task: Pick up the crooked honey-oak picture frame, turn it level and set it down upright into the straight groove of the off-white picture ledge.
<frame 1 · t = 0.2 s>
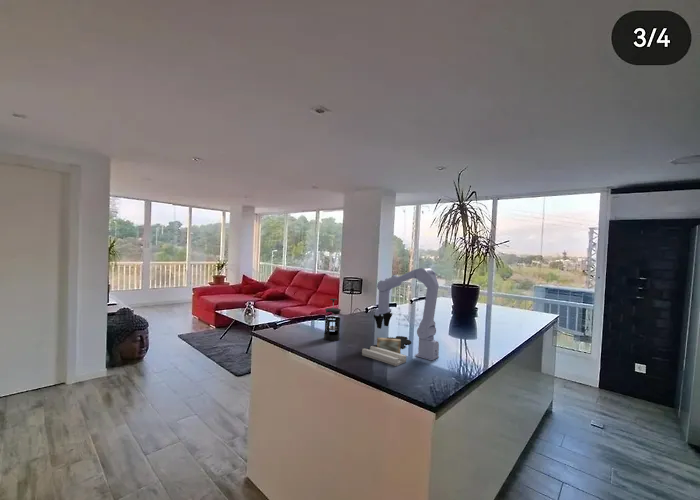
hand: (382, 327, 179), 10 cm above the countertop, tool pointing down, fingers open, 7 cm apart
figurine: (394, 344, 183), on the countertop
ledge: (383, 358, 156), on the countertop
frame: (388, 351, 168), on the countertop
french press: (332, 339, 187), on the countertop
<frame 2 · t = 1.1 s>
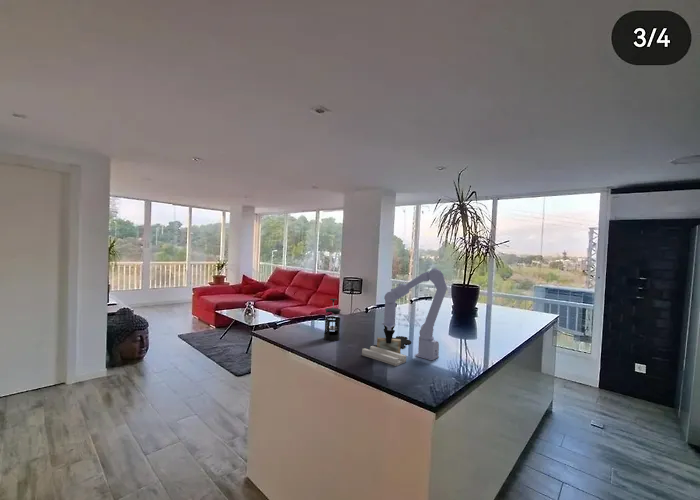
hand: (388, 341, 168), 5 cm above the countertop, tool pointing down, fingers open, 7 cm apart
nothing on the countertop moved.
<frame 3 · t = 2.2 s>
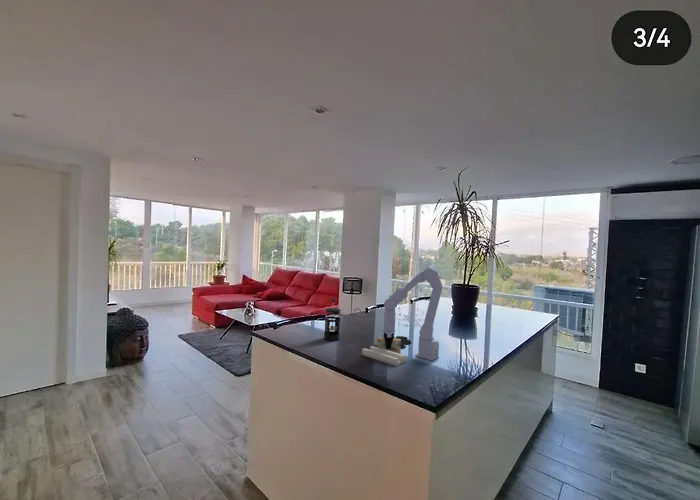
hand: (388, 347, 168), 2 cm above the countertop, tool pointing down, fingers closed on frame, 3 cm apart
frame: (388, 351, 168), on the countertop, touching gripper
everything else where it was.
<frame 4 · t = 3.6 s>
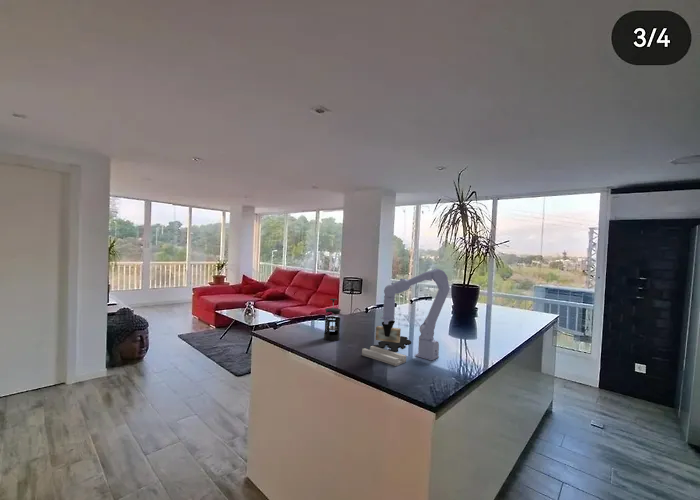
hand: (387, 335, 165), 9 cm above the countertop, tool pointing down, fingers closed on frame, 3 cm apart
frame: (387, 340, 165), point 6 cm above the countertop, touching gripper
everything else where it was.
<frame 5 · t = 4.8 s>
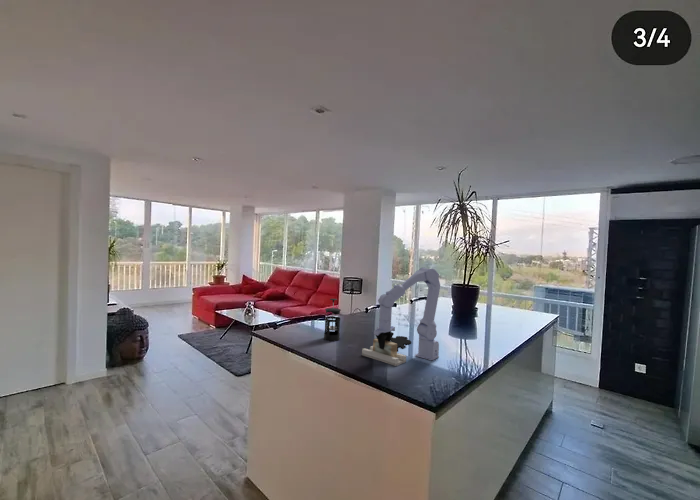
hand: (383, 347, 156), 5 cm above the countertop, tool pointing down, fingers closed on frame, 3 cm apart
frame: (384, 354, 156), point 2 cm above the countertop, touching gripper
everything else where it was.
when the fingers open (4 cm above the countertop, at t = 5.3 s): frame stays where it is, resting on ledge.
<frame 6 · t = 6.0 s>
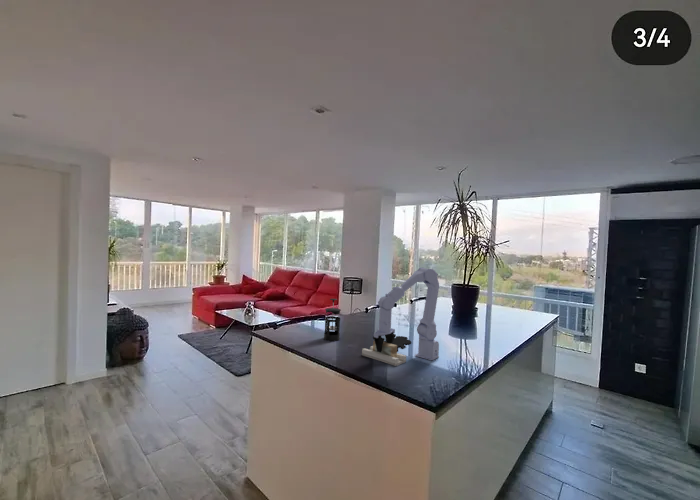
hand: (383, 350, 156), 4 cm above the countertop, tool pointing down, fingers open, 7 cm apart
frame: (384, 356, 156), point 1 cm above the countertop, touching ledge
everything else where it was.
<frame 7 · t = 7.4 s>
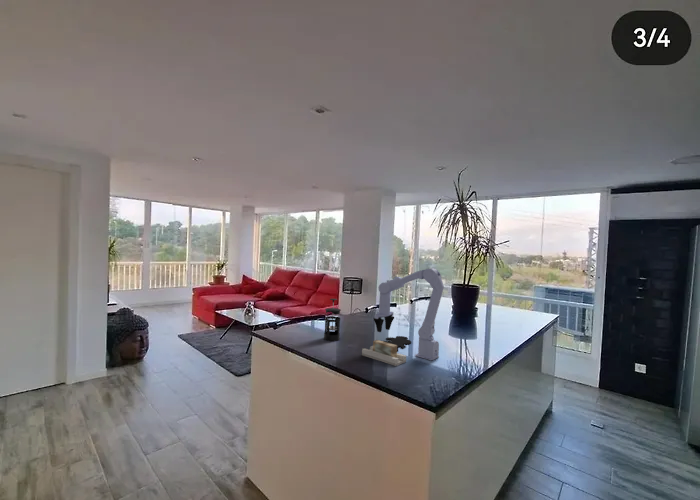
hand: (383, 330, 172), 9 cm above the countertop, tool pointing down, fingers open, 7 cm apart
nothing on the countertop moved.
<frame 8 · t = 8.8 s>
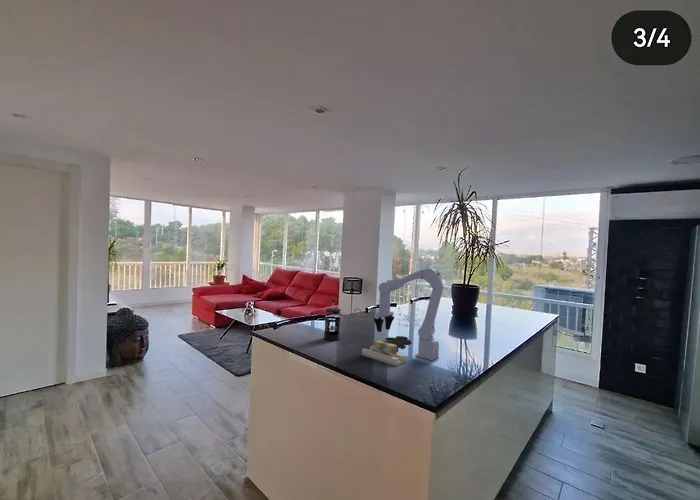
hand: (383, 330, 173), 9 cm above the countertop, tool pointing down, fingers open, 7 cm apart
nothing on the countertop moved.
at the end: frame inside the target area on the ledge (0.5 cm from its centre), point 1.0 cm above the ledge's base; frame tilted 0°; the gripper is holding nothing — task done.
